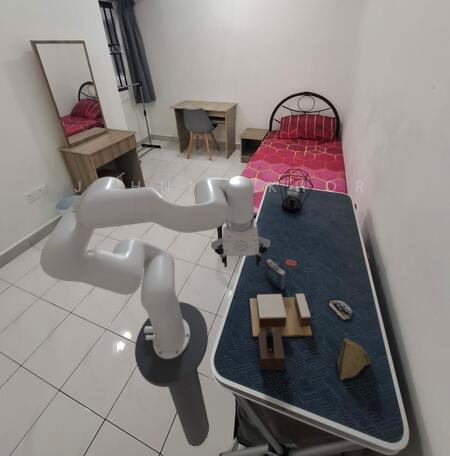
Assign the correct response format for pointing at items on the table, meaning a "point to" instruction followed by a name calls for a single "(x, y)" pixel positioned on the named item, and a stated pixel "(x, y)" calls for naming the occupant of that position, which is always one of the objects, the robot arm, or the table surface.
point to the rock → (351, 359)
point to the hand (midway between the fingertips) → (241, 262)
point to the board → (291, 320)
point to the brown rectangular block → (302, 310)
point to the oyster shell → (341, 309)
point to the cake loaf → (271, 310)
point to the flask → (275, 274)
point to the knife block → (276, 356)
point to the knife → (269, 338)
